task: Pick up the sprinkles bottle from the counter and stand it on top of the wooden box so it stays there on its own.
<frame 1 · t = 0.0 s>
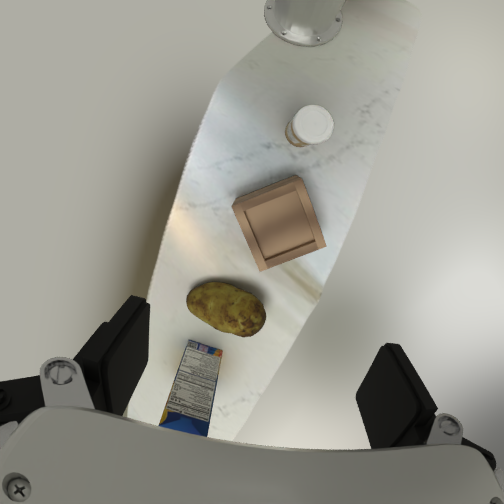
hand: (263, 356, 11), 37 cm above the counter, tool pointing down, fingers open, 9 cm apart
sprinkles bottle: (299, 132, 43), on the counter
wooden box: (277, 216, 47), on the counter
potato: (228, 296, 52), on the counter
beverage box: (199, 363, 57), on the counter
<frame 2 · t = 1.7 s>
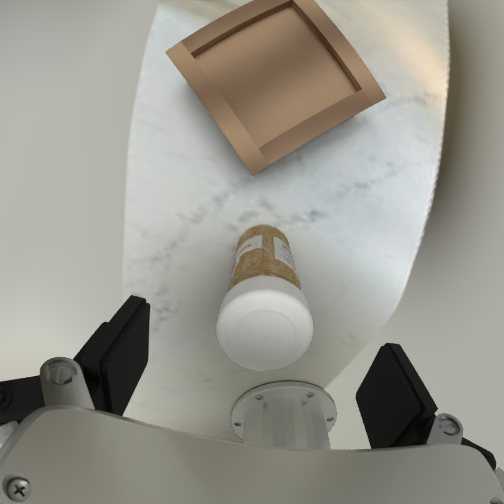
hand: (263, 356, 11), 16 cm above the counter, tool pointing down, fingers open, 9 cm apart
sprinkles bottle: (263, 249, 26), on the counter
wooden box: (272, 91, 22), on the counter
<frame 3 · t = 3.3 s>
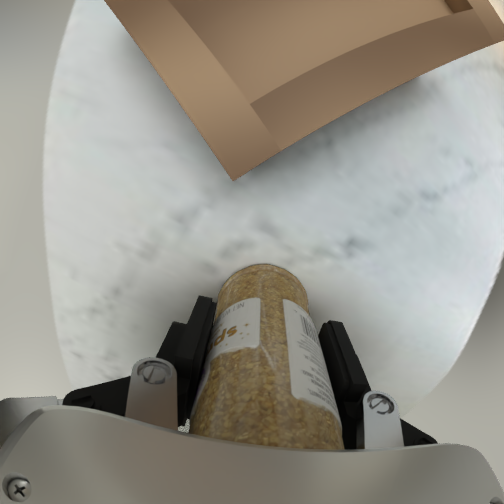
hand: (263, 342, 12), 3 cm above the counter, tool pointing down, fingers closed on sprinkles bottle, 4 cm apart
sprinkles bottle: (263, 302, 15), on the counter, touching gripper
wooden box: (279, 26, 11), on the counter
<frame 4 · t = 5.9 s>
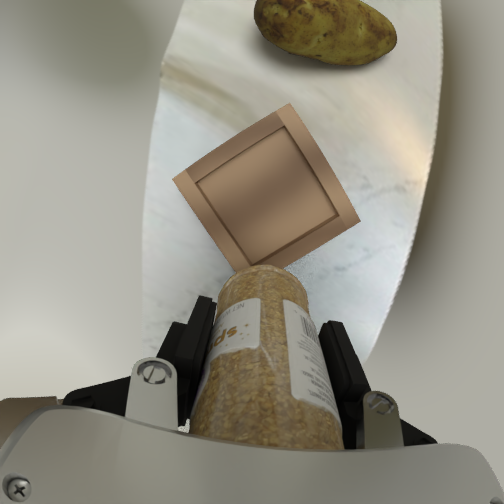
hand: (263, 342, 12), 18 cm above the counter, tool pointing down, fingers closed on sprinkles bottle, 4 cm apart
sprinkles bottle: (263, 303, 15), point 14 cm above the counter, touching gripper
wooden box: (266, 189, 28), on the counter
potato: (322, 41, 23), on the counter
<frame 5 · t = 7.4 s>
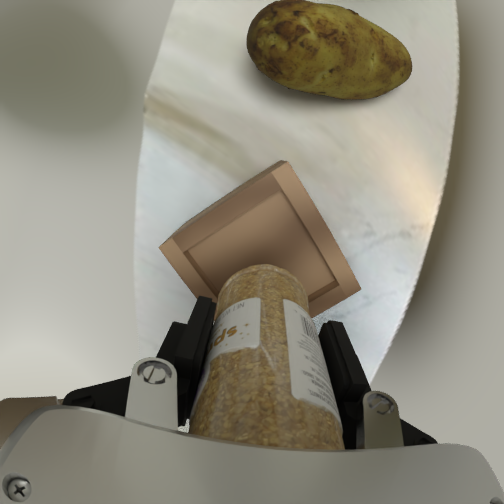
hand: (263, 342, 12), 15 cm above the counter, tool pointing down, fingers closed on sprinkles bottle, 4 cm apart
sprinkles bottle: (263, 302, 15), point 12 cm above the counter, touching gripper
wooden box: (262, 240, 26), on the counter
potato: (326, 67, 21), on the counter
when the fingers open (10 cm above the counter, at t = 8.8 s): sprinkles bottle stays where it is, resting on wooden box.
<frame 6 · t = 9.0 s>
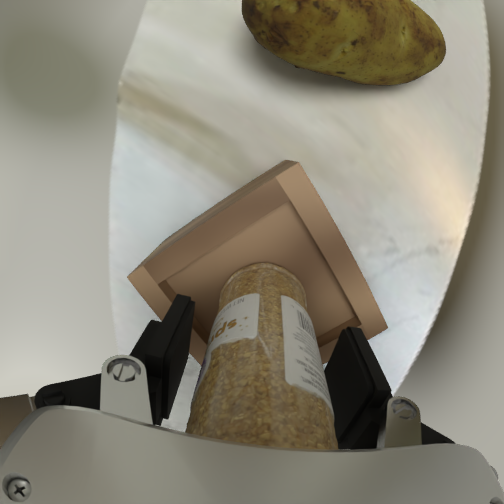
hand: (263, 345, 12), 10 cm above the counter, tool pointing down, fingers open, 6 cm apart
sprinkles bottle: (263, 300, 16), point 6 cm above the counter, touching wooden box
wooden box: (262, 259, 21), on the counter
potato: (341, 47, 16), on the counter
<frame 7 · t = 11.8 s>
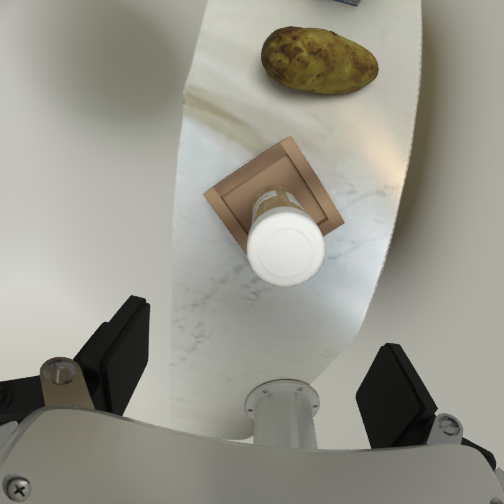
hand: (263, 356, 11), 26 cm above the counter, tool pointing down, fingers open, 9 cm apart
sprinkles bottle: (275, 207, 30), point 6 cm above the counter, touching wooden box
wooden box: (272, 196, 35), on the counter
potato: (316, 71, 30), on the counter
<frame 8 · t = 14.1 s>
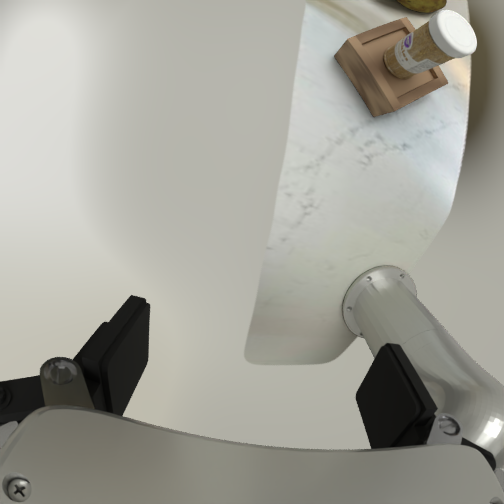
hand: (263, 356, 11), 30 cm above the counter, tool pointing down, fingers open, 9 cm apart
sprinkles bottle: (398, 63, 27), point 6 cm above the counter, touching wooden box
wooden box: (381, 72, 33), on the counter
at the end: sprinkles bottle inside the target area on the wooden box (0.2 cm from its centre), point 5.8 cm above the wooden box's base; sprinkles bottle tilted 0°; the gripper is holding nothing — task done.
